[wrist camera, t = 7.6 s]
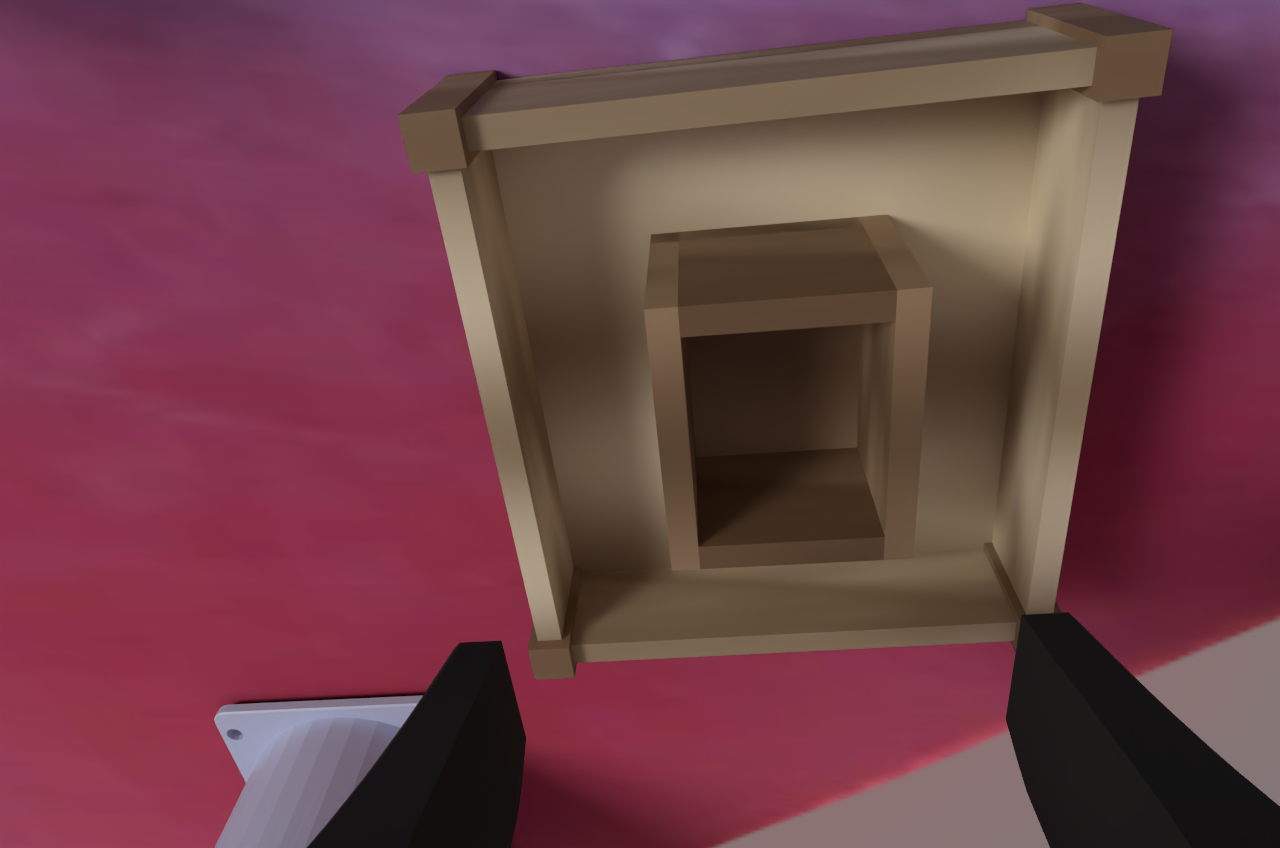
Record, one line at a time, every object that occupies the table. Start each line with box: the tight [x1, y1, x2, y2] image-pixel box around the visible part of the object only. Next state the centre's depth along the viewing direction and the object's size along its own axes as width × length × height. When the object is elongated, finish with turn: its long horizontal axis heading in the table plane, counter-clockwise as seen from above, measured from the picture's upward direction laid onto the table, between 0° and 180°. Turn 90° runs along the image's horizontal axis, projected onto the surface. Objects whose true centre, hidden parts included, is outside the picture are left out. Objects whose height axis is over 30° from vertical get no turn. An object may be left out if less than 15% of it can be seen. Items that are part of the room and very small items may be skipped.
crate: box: [398, 3, 1173, 680], centre depth 20 cm, size 14×13×4 cm
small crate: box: [644, 215, 933, 571], centre depth 19 cm, size 6×5×4 cm
